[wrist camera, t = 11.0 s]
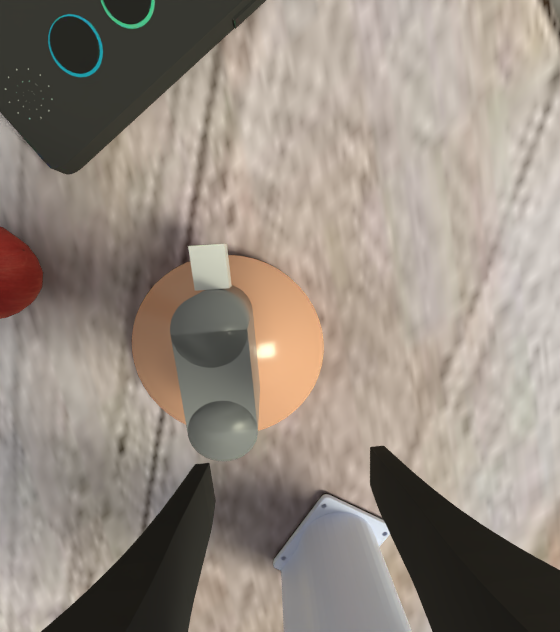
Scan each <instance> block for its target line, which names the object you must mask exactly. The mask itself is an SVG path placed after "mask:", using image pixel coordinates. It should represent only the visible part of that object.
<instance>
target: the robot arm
mask: <svg viewBox="0 0 560 632" xmlns="http://www.w3.org/2000/svg"><path fill="white" fill-rule="evenodd" d="M370 486H371V489H372V492H373V495H374V497H375V500H376V503H377V506H378V508H379V511H380V513H381V515H382V518H383V520H382V519H380V518H378V517H376V516H373V515H371V514H369V513H367V512H365V511H363V510H361V509H359V508H356V507H354V506H352V505H350V504H348V503H346V502H344V501H341V500H339V499H337V498H335V497H333V496H331V495H328V494H324V495H323V496H322V497H321V498H320V499H319V501H318V502H317V503H316V505H315V506H314V507H313V509H312V510H311V511H310V512H309V514H308V515H307V516H306V518H305V519H304V520H303V522H302V523H301V524H300V526H299V527H298V528H297V530H296V531H295V532H294V534H293V535H292V536H291V538H290V539H289V540H288V542H287V543H286V544H285V546H284V547H283V548H282V550H281V551H280V552H279V553H278V555H277V556H276V557H275V559H274V560H273V566H274V568H276V569H278V570H281V577H282V600H283V623H284V632H412V630H411V628H410V625H409V623H408V620H407V617H406V615H405V612H404V610H403V607H402V604H401V602H400V599H399V597H398V594H397V591H396V589H395V586H394V584H393V581H392V578H391V576H390V573H389V571H388V568H387V565H386V563H385V560H384V558H383V555H382V552H381V550H380V547H379V546H380V545H381V544H382V543H383V542H384V541H385V539H386V538H387V537H388V536H389V535H390V534H391V537H392V539H393V541H394V543H395V545H396V547H397V549H398V551H399V553H400V555H401V558H402V560H403V562H404V564H405V566H406V568H407V570H408V572H409V574H410V577H411V579H412V581H413V583H414V586H415V588H416V590H417V593H418V595H419V598H420V600H421V603H422V606H423V608H424V611H425V613H426V616H427V618H428V621H429V623H430V626H431V629H432V631H433V632H560V570H558V569H556V568H555V567H553V566H551V565H549V564H547V563H545V562H544V561H542V560H540V559H538V558H536V557H534V556H533V555H531V554H529V553H527V552H526V551H524V550H522V549H520V548H519V547H517V546H515V545H514V544H512V543H510V542H509V541H507V540H506V539H504V538H502V537H501V536H499V535H497V534H496V533H494V532H493V531H491V530H489V529H488V528H486V527H485V526H483V525H482V524H480V523H479V522H477V521H476V520H474V519H473V518H471V517H470V516H469V515H467V514H466V513H464V512H463V511H461V510H460V509H459V508H457V507H456V506H454V505H453V504H452V503H450V502H449V501H448V500H447V499H445V498H444V497H443V496H441V495H440V494H439V493H438V492H436V491H435V490H434V489H433V488H431V487H430V486H429V485H428V484H427V483H425V482H424V481H423V480H422V479H421V478H419V477H418V476H417V475H416V474H415V473H414V472H412V471H411V470H410V469H409V468H408V467H407V466H406V465H405V464H403V463H402V462H401V461H400V460H399V459H398V458H397V457H396V456H395V455H393V454H392V453H391V452H390V451H389V450H388V449H387V448H386V447H385V446H376V447H370ZM214 508H215V495H214V489H213V483H212V477H211V470H210V464H209V463H204V464H195V466H194V467H193V468H192V469H191V471H190V472H189V474H188V475H187V476H186V478H185V479H184V481H183V482H182V483H181V485H180V486H179V488H178V489H177V490H176V492H175V493H174V494H173V496H172V497H171V498H170V500H169V501H168V502H167V504H166V505H165V506H164V508H163V509H162V510H161V511H160V513H159V514H158V515H157V516H156V518H155V519H154V520H153V521H152V523H151V524H150V525H149V526H148V527H147V529H146V530H145V531H144V532H143V533H142V535H141V536H140V537H139V538H138V539H137V540H136V541H135V543H134V544H133V545H132V546H131V547H130V548H129V549H128V550H127V551H126V552H125V554H124V555H123V556H122V557H121V558H120V559H119V560H118V561H117V562H116V563H115V564H114V565H113V566H112V567H111V568H110V569H109V570H108V571H107V572H106V573H105V574H104V575H103V576H102V577H101V578H100V579H99V580H98V581H97V582H96V583H95V584H94V585H93V586H92V587H91V588H90V589H89V590H88V591H87V592H86V593H84V594H83V595H82V596H81V597H80V598H79V599H78V600H77V601H76V602H75V603H73V604H72V605H71V606H70V607H69V608H68V609H67V610H66V611H64V612H63V613H62V614H61V615H60V616H59V617H58V618H56V619H55V620H54V621H53V622H52V623H51V624H49V625H48V626H47V627H46V628H45V629H44V630H42V631H41V632H188V628H189V622H190V616H191V612H192V607H193V602H194V598H195V594H196V590H197V586H198V582H199V578H200V574H201V569H202V565H203V561H204V557H205V553H206V549H207V545H208V541H209V537H210V533H211V528H212V522H213V515H214Z"/></svg>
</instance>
